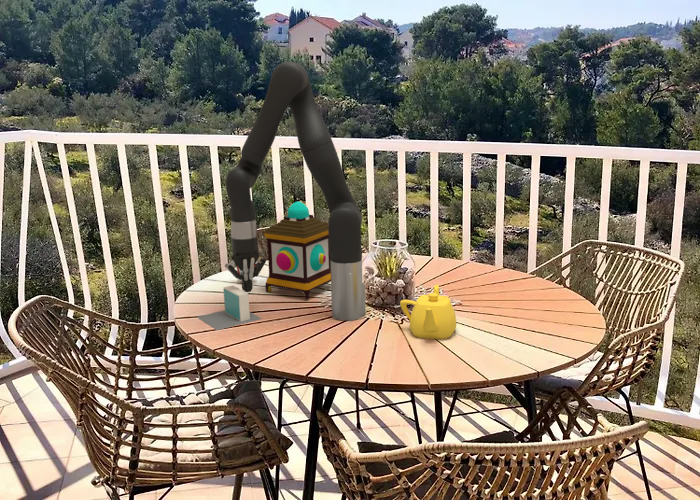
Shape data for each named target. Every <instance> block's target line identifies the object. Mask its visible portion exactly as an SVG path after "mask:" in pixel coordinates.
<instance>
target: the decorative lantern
mask: <svg viewBox="0 0 700 500" xmlns="http://www.w3.org/2000/svg"><path fill="white" fill-rule="evenodd" d="M263 235H264V237H265V239H266V242H267V260H268V261H267V263H268V276H267V279H266V281H265V288H264V289H265V292H266V293H271V292H272V287H274V288H280V289H285V290H291V291H296V292H301V293H303V294H304V295H303V296H304V299H305V301H308V300H310V294H311V292H312V291H314V290H316V289H318V288H320V287H323V286H324V285H326V284H329V283H331V261H330V251H329V233H328V222H327V221H321V220H320V219H318V218H317V217H314V215H313V214H310V211H309V207H308V206H307V205H305V204H304V203H303V202H301V201H295V202H293V203H292V204H290V206H289V207H288V209H287V215H285V216H283V219H281V220H280V221H279V222H277V223H276V224H272V225H270V226H269V227H268V228H266V229H265V231H264V232H263Z"/></svg>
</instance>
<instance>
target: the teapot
mask: <svg viewBox="0 0 700 500" xmlns="http://www.w3.org/2000/svg"><path fill="white" fill-rule="evenodd" d="M399 305H400V308H401V310H402V312H403V314H404V315H405V316H406V317H407V318H408V320H409V328H410V331H411V333H412V334H413V336H414V337H415V338H420V339H428V340H446V339H449V338H450V337H452V335H453V334H454V333H455V330H456V329H457V328H456V327H457V320H456V319H457V317H456V312H455V310H454V307H453V304H452V302H451V299H450V297H448V296H446V295H441V294H440V285H439V284H434V286H433V292H430V293H428V294H423V295H420V296H419V297H418V298H417V299H416V301H415V300H413V299H412V300H411V299H402V300H400V302H399ZM407 305H411V306H412V305H413V308H412V310H411V314H410V311H409V309H408V306H407Z"/></svg>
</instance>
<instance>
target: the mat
mask: <svg viewBox="0 0 700 500" xmlns="http://www.w3.org/2000/svg"><path fill="white" fill-rule="evenodd" d="M196 318H197V319H198V320H200V321H202V322H203V323H205V324H206V325H208V326H210V327H211V328H213V329H214V330H216V331H221V330H223V329H228V328H231V327H235V326H239V325H244V324H248V323H251V322H256V321H259V320H263V318H262V317H260V316H258V315H256V314H255V313H253V312H251V311H250V319H249V320H245V321H239V320H237V319H236V318H234V317H232V316H231V315H229V314H227V313H226V312H225V309H224V310H220V311H214V312H211V313H207V314H203V315H199V316H196Z"/></svg>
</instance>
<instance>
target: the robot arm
mask: <svg viewBox="0 0 700 500" xmlns="http://www.w3.org/2000/svg"><path fill="white" fill-rule="evenodd" d="M313 93H314V92H313V90H312V85H311V81H310V78H309V74H308V72H307V69H305V68H304V67H303V66H302V64H300V63H297V62H295V61H294V62H292V61H285V62H282V63H280V64H278V65H277V66H276V67H275V68H274V70H273V72H272V74H271V78H270V81H269V85H268V88H267V92H266V95H265V98H264V100H263V104H262V105H261V109H260V111H259V113H258V115H257V117H256V118H255V119H256V120H255V121H254V124H253V126H252V128H251V129H250V132H249V134H248V135H247V137H246V140H245V141H244V144H243V146H242V149H241V151H240V155H241V157H240V159H239V161H238V163H237V166H236V167H235V168H233V169H231V170H230V171H229V172H228V173H227V175H226V178H225V189H226V194H227V198H228V201H229V205H230V218H231V219H230V220H231V221H230V223H231V224H230V236H231V250H232V256H231V261H230V262H229V263H225V265H224V267H225V268H226V269H227V271H228V272H229V273H231V275H232V276H233V277H234V278H235V279H237V280H239V281H240V282H241V290H243V291H245V292H247V293H252V290H253V279H254V278H255V277H256V278H257V277H258V276H259V274H260V273H261V271H262V269H263V267H264V266H265V265H266V264H267V263H266V262H267V260H266V258H263V257H261V256H260V253H259V251H258V249H259V244H258V241H259V239H258V226H257V222H256V221H257V220H256V219H257V218H256V208H255V207H256V206H255V203H254V200H252V197H251V189H252V188H253V187H254V185H255V184H256V182H257V180H258V178H259V175H260V172H261V169H262V166H263V164H264V162H265V159H266V157H267V156H268V154H269V152H270V150H271V148H272V146H273V143H274V141H275V139H276V136H277V133H278V129H279V126H280V123H281V121H282V119H283V116H284V114H285V112H286V111H287V109H288V107H289V108H290V112H291V114H292V116H293V121H294V125H295V130H296V131H295V132H296V137H297V141H298V145H299V148H300V152H301V154H302V157H303V160H304V162H305V164H306V167H307V168H308V171H309V173H310V174H311V175H312V178H313V179H314V180H315V182H316V184H317V185H318V186H319V188H320V190H321V191H322V194H323V196H324V199H325V202H326V205H327V209H328V212H329V217H328V222H327V223H328V233H329V251H330V261H331V282H330V288H331V289H330V290H331V292H330V293H331V316H332V318H334V319H335V320H339V321H354V320H358V319H360V318H362V317H363V316H364V315H366V306H367V304H366V283H364V282H363V250H362V249H363V248H362V221H363V216H362V214H361V213H362V212H361V210H360V209H359V207H358V205H357V203H356V201H355V199H354V197H353V195H352V193H351V191H350V189H349V186H348V184H347V181H346V178H345V175H344V171H343V168H342V165H341V162H340V159H339V156H338V152H337V149H336V147H335V144H334V142H333V139H332V136H331V135H330V132H329V130H328V128H327V125H326V123H325V121H324V119H323V117H322V114H321V113H320V110H319V108H318V106H317V103H316V100H315V96H314V94H313ZM255 264H256V265H255ZM254 265H255V266H254ZM237 267H238V268H239V272H240V274H239V273H238V271H237V269H236V268H237Z"/></svg>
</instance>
